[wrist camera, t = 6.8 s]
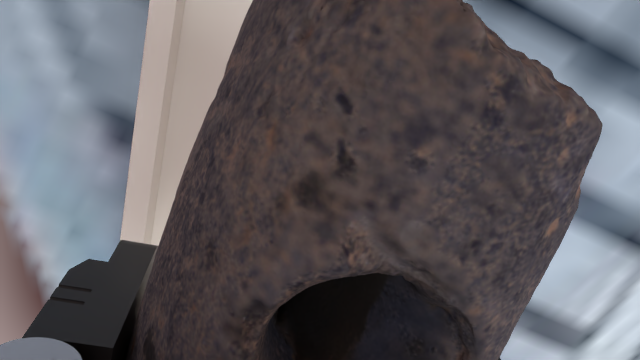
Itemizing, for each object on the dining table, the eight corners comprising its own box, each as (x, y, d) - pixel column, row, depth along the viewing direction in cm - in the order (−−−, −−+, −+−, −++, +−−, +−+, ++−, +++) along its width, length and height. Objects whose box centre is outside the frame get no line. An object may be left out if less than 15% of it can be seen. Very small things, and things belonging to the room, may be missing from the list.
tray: (464, -98, 26) (490, -107, 23) (348, 332, 33) (356, 373, 30) (187, -168, 25) (173, -189, 21) (125, 298, 32) (107, 337, 28)
